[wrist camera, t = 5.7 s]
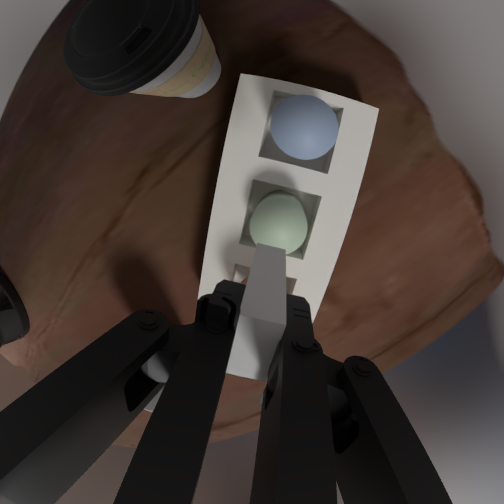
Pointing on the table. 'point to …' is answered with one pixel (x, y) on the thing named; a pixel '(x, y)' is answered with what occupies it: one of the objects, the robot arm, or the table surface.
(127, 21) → the coffee cup
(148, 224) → the table surface
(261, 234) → the sage cap
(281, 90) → the button board
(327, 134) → the slate cap
